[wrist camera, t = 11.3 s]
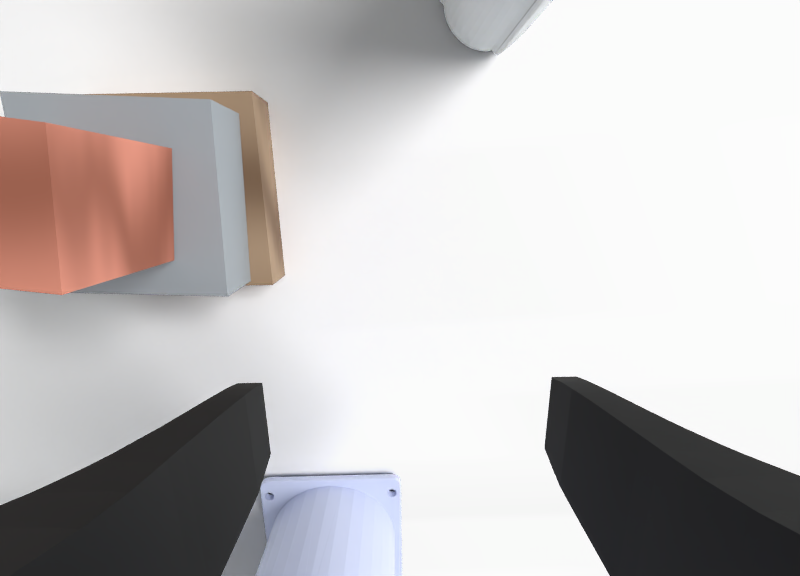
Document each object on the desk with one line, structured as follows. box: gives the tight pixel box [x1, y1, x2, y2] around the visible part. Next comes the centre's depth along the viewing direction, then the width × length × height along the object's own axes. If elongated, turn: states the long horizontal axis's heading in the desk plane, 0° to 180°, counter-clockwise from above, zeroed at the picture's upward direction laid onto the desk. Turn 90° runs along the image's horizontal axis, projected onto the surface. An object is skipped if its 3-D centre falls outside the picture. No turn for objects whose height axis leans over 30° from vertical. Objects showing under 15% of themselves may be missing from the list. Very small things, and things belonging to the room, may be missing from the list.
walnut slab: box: [84, 91, 285, 285], centre depth 17 cm, size 8×8×2 cm
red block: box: [0, 117, 174, 295], centre depth 11 cm, size 4×4×5 cm
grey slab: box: [0, 91, 251, 296], centre depth 15 cm, size 7×7×2 cm
